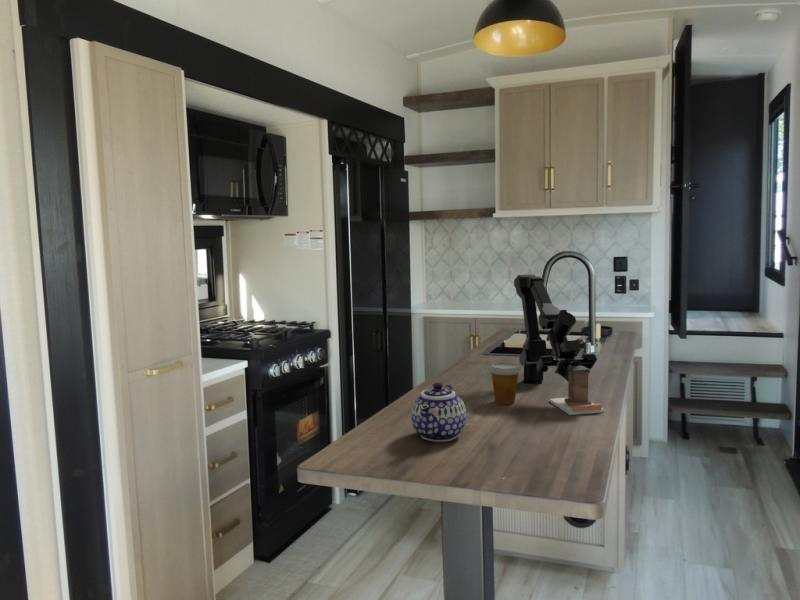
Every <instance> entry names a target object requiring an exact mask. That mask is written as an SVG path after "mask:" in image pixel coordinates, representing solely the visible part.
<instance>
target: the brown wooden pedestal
mask: <svg viewBox="0 0 800 600" xmlns="http://www.w3.org/2000/svg"><path fill="white" fill-rule="evenodd" d="M567 371H569V381H567V382H568V397H564V398H565V403H567V404H569V405H570V406H578V405H591V404H592V403H593V402H592V401H590V400H589V374H590V373H591V369H588V368H586V367H584V366H571V367H567Z"/></svg>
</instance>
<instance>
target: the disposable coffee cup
mask: <svg viewBox="0 0 800 600" xmlns="http://www.w3.org/2000/svg"><path fill="white" fill-rule="evenodd" d="M489 371H490V372H491V379H492V387H493V388H492V390H493V395H494V403H496V404H498V405H504V404H507V405H513V404H515V401H516V395H517V387H518V380H519V373H520V371H521V369H520V366H519V364H517V363H513V362H496V363H493V364H491V367H490V368H489Z"/></svg>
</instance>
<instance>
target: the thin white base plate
mask: <svg viewBox="0 0 800 600" xmlns="http://www.w3.org/2000/svg"><path fill="white" fill-rule="evenodd" d="M565 398H566V397H555V398H549V403H550V402H551V403H550V404H552V403H553V404H552V405H553V406H556V407H557V408H558V407H559V409H560V410H561V411H563V412H565V413H566V414H567V415H569V416H573V415H584V414H585V415H586V414H600V413H605V408H603V407H602V406H603V405H602V404H601V403H593V402H592V404H591V405H578V406H570V405H569V404H567V403H565Z"/></svg>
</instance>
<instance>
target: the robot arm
mask: <svg viewBox="0 0 800 600" xmlns="http://www.w3.org/2000/svg"><path fill="white" fill-rule="evenodd" d="M544 281H545V280H544V278H543V277H542V276H537V275H535V274H517V276H516V277H515V278H514V280H513V286H514V288H515V290H516V291H515V292H516V294H517V296H519V298H520V300H521V303H522V306H521V307H522V313H523V321H524V322H523V323H524V329H525V336H526V337H525V338H526V339H525V341H524V343H523V345H522V352H521V353H520V356H519V358H518V363H519V365H521V366H523V380H522V383H526V384H542V382H544V373H547V372H548V371H549V367H555V370H554V373H555V374H558V375H559V376H560V377H562V378H563V379H564V380H565V381H567V382H568V381H569V371H567V367H571V366H584V367H586V368H588V369H590V370H592V369H593V367H594V365H595V364H596V362H597V361H598V357H597V355H596V353H593V352H592V353H582V355H581V356H580V358H579V357H577V355H578V352H579V351H581V350H583V349H585V347H586V345H585V342H584V339H583V338H580V337H579V338H576V339H575V340H573V339H571V340H569V339H568V337H567V336H569V335H570V334H571V332H572V330H573V328H574V327H575V324H576V322H577V318H576V316H574V315H573V314H572V313H570V312H568V310H567V309H559V308H558V307H557V306H555V305H554V304H553V302H552V300H551V297H550V295H549V293H548V290H547V288H546V286H545V283H544ZM537 308H538V310H539V314H538V312H537ZM538 315H539V316H538ZM539 326H540V327H539ZM539 328H541V329H542V330H548V333H547V336H546V339H543V338H542V337H541V336H540V329H539ZM547 342H549V345H550V347H551V351H550V353H551V355H549V352H548V351H549V350H548V348H547ZM553 355H554V356H553ZM575 357H577V358H575Z"/></svg>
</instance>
